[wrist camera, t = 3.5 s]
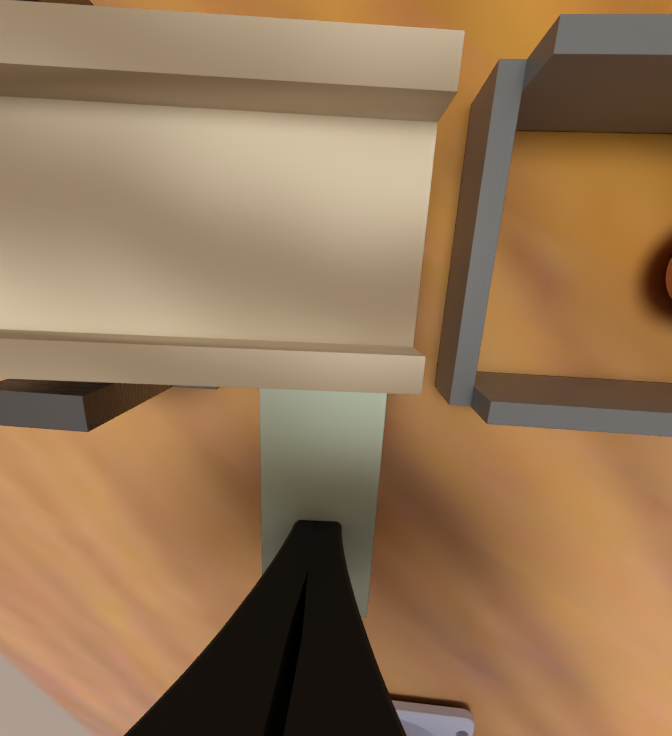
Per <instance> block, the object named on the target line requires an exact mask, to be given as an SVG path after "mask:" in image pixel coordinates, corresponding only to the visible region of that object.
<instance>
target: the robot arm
mask: <svg viewBox="0 0 672 736" xmlns="http://www.w3.org/2000/svg"><path fill="white" fill-rule="evenodd" d="M474 728H475V724H474V720H473V716H472V714H471V713H470V712H469V711H468V710H466V709H463V708H454V707H446V706H437V705H429V704H420V703H412V702H404V701H395V700H391V698H390V695H389V693H388V690H387V688H386V685H385V682H384V680H383V677H382V675H381V672H380V670H379V667H378V665H377V662H376V659H375V657H374V654H373V651H372V648H371V645H370V643H369V640H368V637H367V634H366V631H365V628H364V625H363V622H362V619H361V616H360V613H359V609H358V606H357V603H356V599H355V596H354V592H353V588H352V585H351V581H350V577H349V573H348V569H347V564H346V559H345V554H344V549H343V542H342V526H341V524H340V523H339V522H335V521H315V520H298V521H297V522H295V523H294V525H293V527H292V529H291V531H290V533H289V535H288V536H287V538H286V540H285V542H284V543H283V545H282V546H281V548H280V550H279V551H278V553H277V554H276V556H275V557H274V559H273V561H272V562H271V563H270V565H269V566H268V568H267V569H266V571H265V572H264V574H263V575H262V576H261V578H260V579H259V581H258V582H257V584H256V585H255V586H254V588H253V589H252V591H251V592H250V593H249V595H248V596H247V597H246V598H245V600H244V601H243V602H242V604H241V605H240V606H239V608H238V609H237V610H236V611H235V613H234V614H233V615H232V617H231V618H230V619H229V621H228V622H227V623H226V624H225V626H224V627H223V628H222V629H221V630H220V632H219V633H218V634H217V635H216V636H215V638H214V639H213V640H212V641H211V642H210V644H209V645H208V646H207V647H206V648H205V649H204V651H203V652H202V653H201V654H200V655H199V656H198V657H197V659H196V660H195V661H194V662H193V663H192V664H191V665H190V666H189V668H188V669H187V670H186V671H185V672H184V673H183V674H182V675H181V676H180V677H179V679H178V680H177V681H176V682H175V683H174V684H173V685H172V686H171V687H170V688H169V689H168V690H167V691H166V692H165V693H164V694H163V696H162V697H161V698H160V699H159V700H158V701H157V702H156V703H155V704H154V705H153V706H152V707H151V708H150V709H149V710H148V711H147V712H146V713H145V714H144V716H143V717H142V718H141V719H140V720H139V721H138V722H137V723H136V724H135V725H134V726H133V727H132V728H131V729H130V730H129V731H128V732H127V733H126V734H125V735H124V736H473V732H474Z"/></svg>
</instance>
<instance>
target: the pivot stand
mask: <svg viewBox="0 0 672 736" xmlns="http://www.w3.org/2000/svg"><path fill="white" fill-rule="evenodd" d="M17 1H32V2H47V3H62V4H76V5H91V6H94V5H93V4H92V3H91V2H90V0H17ZM173 386H174V387H189V388H204V389H218V388H219V387H210V386H184V385H159V384H133V383H107V382H82V381H56V380H31V379H6V380H3V381H0V425H2V426H15V427H29V428H42V429H55V430H68V431H81V432H89V431H91V430H93V429H94V428H96V427H98V426H100V425H102V424H104V423H106V422H107V421H109V420H111V419H113V418H115V417H117V416H119V415H120V414H122V413H124V412H126V411H128V410H130V409H132V408H134V407H135V406H137V405H139V404H141V403H143V402H145V401H147V400H148V399H150V398H152V397H154V396H156V395H158V394H160V393H161V392H163V391H165V390H167V389H169V388H171V387H173Z"/></svg>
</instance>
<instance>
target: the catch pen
mask: <svg viewBox="0 0 672 736" xmlns="http://www.w3.org/2000/svg"><path fill="white" fill-rule="evenodd" d="M516 130H529V131H580V132H631V133H672V14H560V16H559V17H558V18H557V20H556V21H555V23H554V24H553V25H552V27H551V28H550V29H549V31H548V32H547V33H546V35H545V36H544V37H543V39H542V40H541V41H540V43H539V44H538V45H537V47H536V48H535V49H534V51H533V52H532V54H531V55H530V56H529V58H528V59H499V61H498V62H497V64H496V65H495V67H494V69H493V70H492V72H491V73H490V75H489V77H488V78H487V80H486V82H485V83H484V85H483V86H482V88H481V90H480V91H479V93H478V94H477V96H476V98H475V99H474V101H473V102H472V104H471V111H470V119H469V127H468V134H467V142H466V150H465V157H464V165H463V173H462V180H461V188H460V196H459V203H458V211H457V219H456V226H455V234H454V242H453V249H452V257H451V265H450V273H449V280H448V288H447V296H446V303H445V311H444V319H443V326H442V334H441V342H440V349H439V357H438V365H437V372H436V380H435V387H436V388H437V390H438V391H439V392H440V394H441V395H442V396H443V397H444V399H445V400H446V401H447V403H448V404H449V405H457V406H471V407H472V408H473V410H474V411H475V412H476V413H477V414H478V415H479V416H480V417H481V418H482V419H483V420H484V421H485V422H486V423H487V424H494V425H509V426H523V427H538V428H552V429H567V430H581V431H595V432H610V433H624V434H639V435H653V436H668V437H672V383H658V382H641V381H625V380H608V379H592V378H575V377H559V376H542V375H526V374H509V373H493V372H476V370H477V364H478V358H479V352H480V346H481V340H482V333H483V327H484V321H485V315H486V309H487V303H488V297H489V290H490V284H491V278H492V272H493V266H494V260H495V254H496V247H497V241H498V235H499V229H500V223H501V217H502V211H503V204H504V198H505V192H506V186H507V180H508V174H509V168H510V161H511V155H512V149H513V143H514V137H515V131H516Z"/></svg>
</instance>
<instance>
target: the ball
mask: <svg viewBox="0 0 672 736" xmlns="http://www.w3.org/2000/svg"><path fill="white" fill-rule="evenodd" d="M666 287H667V290H668V293H669V295H670V297H671V299H672V258H671V259H670V262H669V264H668V267H667V271H666Z"/></svg>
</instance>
